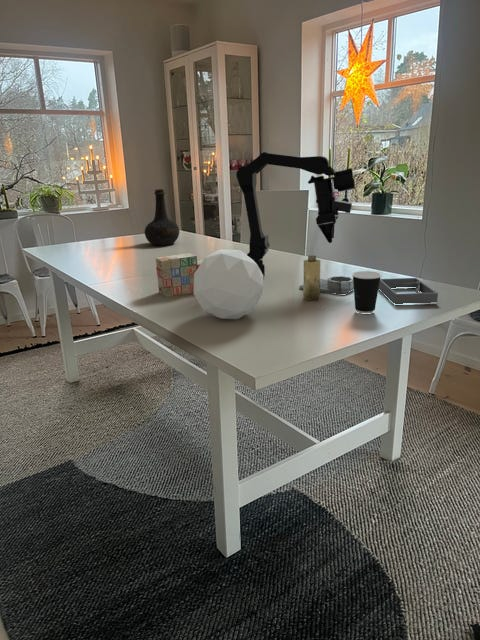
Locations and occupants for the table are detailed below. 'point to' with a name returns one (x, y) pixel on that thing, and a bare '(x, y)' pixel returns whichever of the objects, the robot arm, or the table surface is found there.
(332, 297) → the table surface
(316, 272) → the gold capped bottle
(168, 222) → the glass bottle
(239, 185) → the robot arm
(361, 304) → the dixie cup
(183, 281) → the stack of blocks
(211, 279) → the ball
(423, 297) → the tray
